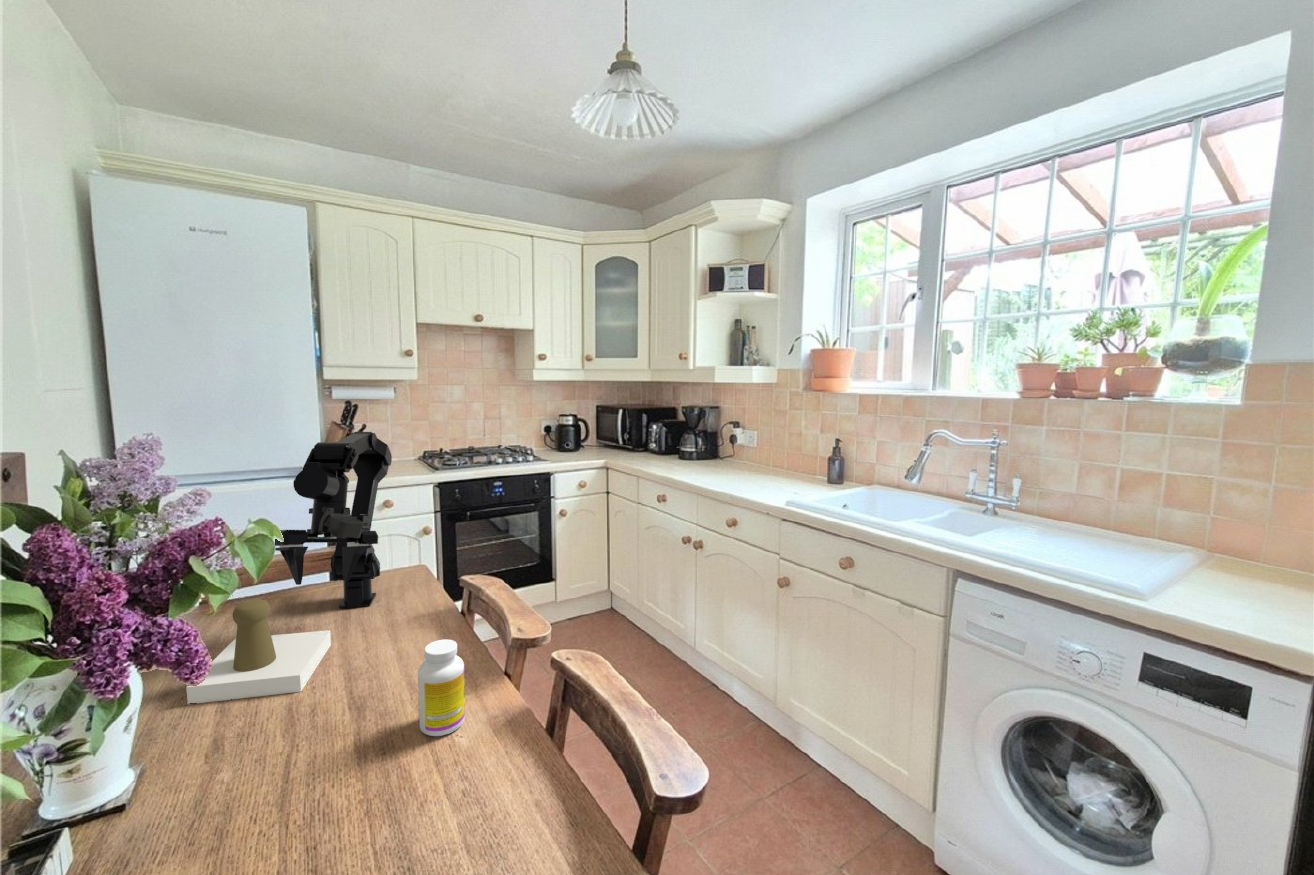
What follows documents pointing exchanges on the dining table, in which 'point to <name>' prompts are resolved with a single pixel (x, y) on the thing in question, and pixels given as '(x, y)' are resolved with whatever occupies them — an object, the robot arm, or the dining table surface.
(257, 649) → the cork
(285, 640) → the base block
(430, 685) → the supplement bottle
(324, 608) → the dining table surface
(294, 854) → the dining table surface
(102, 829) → the dining table surface
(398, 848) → the dining table surface
